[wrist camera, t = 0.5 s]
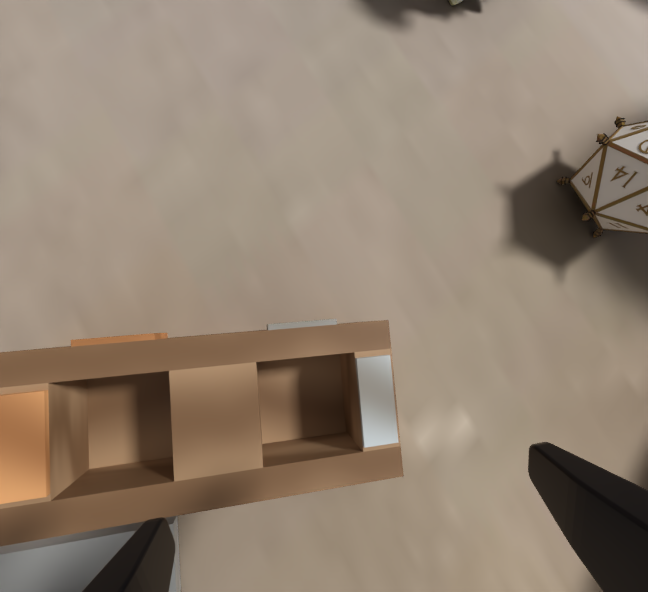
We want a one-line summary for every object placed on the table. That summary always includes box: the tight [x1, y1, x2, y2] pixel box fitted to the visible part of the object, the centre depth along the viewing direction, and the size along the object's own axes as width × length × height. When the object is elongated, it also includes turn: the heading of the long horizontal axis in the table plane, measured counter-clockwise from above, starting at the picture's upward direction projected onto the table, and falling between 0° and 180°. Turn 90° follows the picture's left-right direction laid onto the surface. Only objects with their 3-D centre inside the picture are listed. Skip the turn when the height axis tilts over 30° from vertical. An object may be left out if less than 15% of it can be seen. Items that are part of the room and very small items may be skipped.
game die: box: [556, 116, 648, 238], centre depth 23 cm, size 9×8×10 cm
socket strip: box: [0, 319, 403, 547], centre depth 19 cm, size 8×18×5 cm, turn 95°
